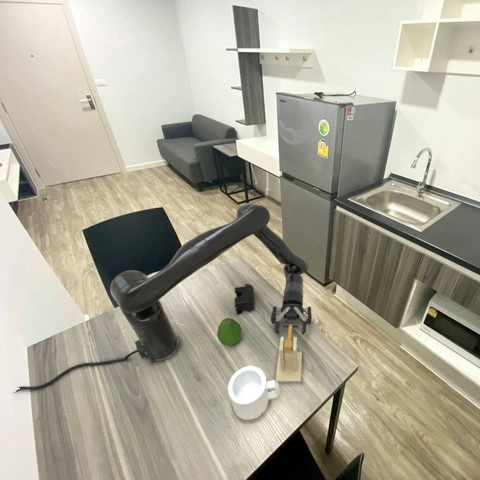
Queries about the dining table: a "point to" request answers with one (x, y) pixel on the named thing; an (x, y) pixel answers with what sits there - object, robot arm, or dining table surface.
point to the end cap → (244, 298)
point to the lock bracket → (289, 363)
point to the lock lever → (289, 337)
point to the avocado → (229, 332)
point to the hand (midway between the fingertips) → (290, 333)
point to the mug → (251, 392)
